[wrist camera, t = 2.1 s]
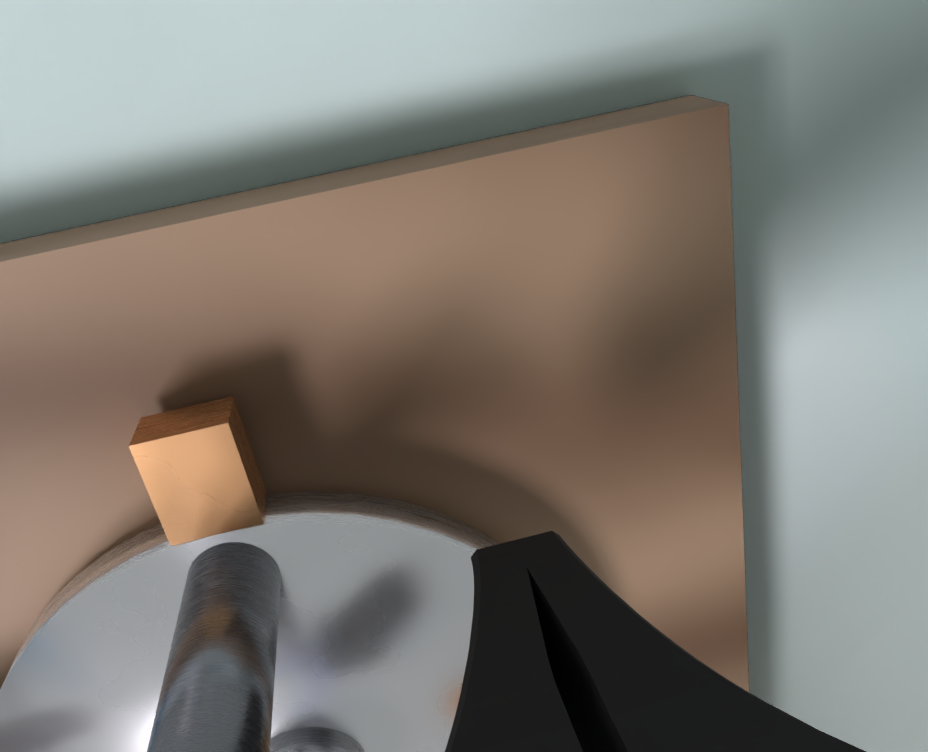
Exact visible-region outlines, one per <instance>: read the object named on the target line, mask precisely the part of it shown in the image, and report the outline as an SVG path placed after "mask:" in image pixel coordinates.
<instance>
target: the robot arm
mask: <svg viewBox="0 0 928 752" xmlns="http://www.w3.org/2000/svg"><path fill="white" fill-rule="evenodd" d="M471 561H472V566H473V575H474V605H473V618H472V627H471V635H470V644H469V651H468V657H467V662H466V668H465V673H464V678H463V683H462V688H461V693H460V698H459V702H458V706H457V710H456V714H455V718H454V722H453V726H452V729H451V733H450V736H449V739H448V743H447V746H446V750H445V752H866V751H863V750H861V749H859V748H857V747H854V746H852V745H850V744H848V743H846V742H843V741H841V740H839V739H837V738H835V737H832V736H830V735H828V734H826V733H824V732H821V731H819V730H817V729H815V728H814V727H812V726H810V725H808V724H806V723H804V722H802V721H800V720H798V719H796V718H795V717H793V716H791V715H789V714H787V713H785V712H783V711H781V710H779V709H778V708H776V707H774V706H772V705H770V704H768V703H766V702H764V701H763V700H761V699H759V698H757V697H756V696H754V695H752V694H751V693H749V692H748V691H746V690H744V689H743V688H741V687H739V686H738V685H736V684H734V683H733V682H731V681H729V680H728V679H726V678H725V677H723V676H722V675H720V674H719V673H717V672H716V671H714V670H713V669H711V668H710V667H708V666H707V665H705V664H704V663H702V662H701V661H699V660H698V659H696V658H695V657H694V656H692V655H691V654H689V653H688V652H687V651H685V650H684V649H683V648H681V647H680V646H679V645H677V644H676V643H675V642H673V641H672V640H671V639H669V638H668V637H667V636H666V635H664V634H663V633H662V632H660V631H659V630H658V629H657V628H655V627H654V626H653V625H652V624H650V623H649V622H648V621H647V620H646V619H644V618H643V617H642V616H641V615H640V614H638V613H637V612H636V611H635V610H634V609H633V608H632V607H630V606H629V605H628V604H627V603H626V602H625V601H624V600H623V599H621V598H620V597H619V596H618V595H617V594H616V593H615V592H613V591H612V590H611V589H610V588H609V587H608V586H607V585H606V584H605V583H604V582H603V581H602V580H601V579H600V578H599V577H598V576H597V575H596V574H595V573H594V572H593V571H592V570H591V569H590V568H589V567H588V566H587V565H586V564H585V563H584V562H583V561H582V560H581V559H580V558H579V557H578V556H577V555H576V554H575V553H574V551H573V550H572V549H571V548H570V547H569V546H568V545H567V544H566V542H565V541H564V540H563V539H562V538H561V536H560V535H558V534H557V533H555V532H553V531H549V532H545V533H541V534H537V535H533V536H529V537H525V538H521V539H517V540H513V541H509V542H505V543H501V544H497V545H493V546H489V547H485V548H481V549H477V550H476V551H475V552H474V553H473V555H472V556H471Z"/></svg>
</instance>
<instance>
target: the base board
mask: <svg viewBox="0 0 928 752" xmlns="http://www.w3.org/2000/svg"><path fill="white" fill-rule="evenodd" d="M232 396H234V398H235V401H236V404H237V407H238V409H239V412H240V415H241V418H242V421H243V424H244V427H245V430H246V433H247V436H248V439H249V441H250V444H251V447H252V450H253V453H254V456H255V459H256V462H257V465H258V468H259V471H260V474H261V476H262V479H263V482H264V485H265V488H266V491H267V494H277V493H291V492H305V491H321V492H347V493H358V494H365V495H371V496H378V497H385V498H391V499H396V500H400V501H403V502H407V503H411V504H414V505H418V506H422V507H425V508H429V509H433V510H435V511H437V512H440V513H442V514H445V515H447V516H449V517H452V518H454V519H457V520H459V521H462V522H464V523H466V524H468V525H470V526H472V527H474V528H475V529H477V530H479V531H480V532H482V533H484V534H486V535H487V536H489V537H491V538H493V539H494V540H496V541H498V542H499V543H500V544H501V543H505V542H509V541H513V540H517V539H521V538H525V537H529V536H533V535H537V534H541V533H545V532H549V531H553V532H555V533H557V534H558V535H560V536H561V538H562V539H563V540H564V541H565V542H566V544H567V545H568V546H569V547H570V548H571V549H572V550H573V551H574V553H575V554H576V555H577V556H578V557H579V558H580V559H581V560H582V561H583V562H584V563H585V564H586V565H587V566H588V567H589V568H590V569H591V570H592V571H593V572H594V573H595V574H596V575H597V576H598V577H599V578H600V579H601V580H602V581H603V582H604V583H605V584H606V585H607V586H608V587H609V588H610V589H611V590H612V591H613V592H615V593H616V594H617V595H618V596H619V597H620V598H621V599H623V600H624V601H625V602H626V603H627V604H628V605H629V606H630V607H632V608H633V609H634V610H635V611H636V612H637V613H638V614H640V615H641V616H642V617H643V618H644V619H646V620H647V621H648V622H649V623H650V624H652V625H653V626H654V627H655V628H657V629H658V630H659V631H660V632H662V633H663V634H664V635H666V636H667V637H668V638H669V639H671V640H672V641H673V642H675V643H676V644H677V645H679V646H680V647H681V648H683V649H684V650H685V651H687V652H688V653H689V654H691V655H692V656H694V657H695V658H696V659H698V660H699V661H701V662H702V663H704V664H705V665H707V666H708V667H710V668H711V669H713V670H714V671H716V672H717V673H719V674H720V675H722V676H723V677H725V678H726V679H728V680H729V681H731V682H733V683H734V684H736V685H738V686H739V687H741V688H743V689H744V690H746V691H748V692H749V673H748V645H747V617H746V589H745V561H744V533H743V505H742V476H741V448H740V420H739V392H738V364H737V336H736V308H735V280H734V251H733V223H732V195H731V167H730V139H729V111H728V104H726V103H722V102H718V101H713V100H709V99H705V98H701V97H697V96H693V95H689V96H685V97H680V98H675V99H671V100H666V101H661V102H657V103H652V104H648V105H643V106H638V107H634V108H629V109H624V110H620V111H615V112H610V113H606V114H601V115H596V116H592V117H587V118H582V119H578V120H573V121H569V122H564V123H559V124H555V125H550V126H545V127H541V128H536V129H531V130H527V131H522V132H517V133H513V134H508V135H504V136H499V137H494V138H490V139H485V140H480V141H476V142H471V143H466V144H462V145H457V146H452V147H448V148H443V149H438V150H434V151H429V152H425V153H420V154H415V155H411V156H406V157H401V158H397V159H392V160H387V161H383V162H378V163H373V164H369V165H364V166H360V167H355V168H350V169H346V170H341V171H336V172H332V173H327V174H322V175H318V176H313V177H308V178H304V179H299V180H294V181H290V182H285V183H281V184H276V185H271V186H267V187H262V188H257V189H253V190H248V191H243V192H239V193H234V194H229V195H225V196H220V197H216V198H211V199H206V200H202V201H197V202H192V203H188V204H183V205H178V206H174V207H169V208H164V209H160V210H155V211H150V212H146V213H141V214H137V215H132V216H127V217H123V218H118V219H113V220H109V221H104V222H99V223H95V224H90V225H85V226H81V227H76V228H72V229H67V230H62V231H58V232H53V233H48V234H44V235H39V236H34V237H30V238H25V239H20V240H16V241H11V242H6V243H2V244H0V689H1V687H2V685H3V683H4V680H5V678H6V676H7V674H8V672H9V670H10V668H11V665H12V663H13V661H14V659H15V657H16V655H17V653H18V651H19V649H20V647H21V645H22V643H23V641H24V639H25V637H26V635H27V633H28V631H29V630H30V629H31V627H32V626H33V624H34V623H35V622H36V620H37V619H38V617H39V616H40V615H41V613H42V612H43V610H44V609H45V608H46V606H47V605H48V604H49V603H50V602H51V601H52V600H53V599H54V597H55V596H56V595H57V594H58V593H59V592H60V591H61V590H62V589H63V588H64V587H65V586H66V585H67V584H68V583H69V582H70V581H71V580H72V579H73V578H74V577H75V576H77V575H78V574H79V573H80V572H82V571H83V570H84V569H86V568H87V567H88V566H89V565H91V564H92V563H93V562H95V561H96V560H97V559H99V558H100V557H101V556H102V555H104V554H105V553H106V552H108V551H110V550H112V549H113V548H115V547H117V546H118V545H120V544H122V543H124V542H125V541H127V540H129V539H130V538H132V537H134V536H136V535H137V534H139V533H141V532H143V531H145V530H147V529H150V528H152V527H154V526H157V525H159V524H161V522H160V520H159V517H158V515H157V513H156V510H155V508H154V506H153V503H152V501H151V498H150V496H149V494H148V491H147V489H146V487H145V484H144V482H143V479H142V477H141V475H140V472H139V470H138V468H137V465H136V463H135V460H134V458H133V456H132V453H131V451H130V448H129V444H130V442H131V439H132V437H133V435H134V432H135V430H136V428H137V425H138V423H139V421H140V418H141V417H146V416H150V415H154V414H159V413H163V412H167V411H171V410H176V409H180V408H184V407H189V406H193V405H197V404H202V403H206V402H210V401H214V400H219V399H223V398H227V397H232Z"/></svg>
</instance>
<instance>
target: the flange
mask: <svg viewBox="0 0 928 752" xmlns="http://www.w3.org/2000/svg"><path fill="white" fill-rule="evenodd" d="M129 448H130V451H131V453H132V456H133V458H134V460H135V463H136V465H137V468H138V470H139V472H140V475H141V477H142V479H143V482H144V484H145V487H146V489H147V491H148V494H149V496H150V498H151V501H152V503H153V506H154V508H155V510H156V513H157V515H158V517H159V520H160V522H161V524H159V525H157V526H154V527H152V528H150V529H147V530H145V531H143V532H141V533H139V534H137V535H136V536H134V537H132V538H130V539H129V540H127V541H125V542H124V543H122V544H120V545H118V546H117V547H115V548H113V549H112V550H110V551H108V552H106V553H105V554H104V555H102V556H101V557H100V558H99V559H97V560H96V561H95V562H93V563H92V564H91V565H89V566H88V567H87V568H86V569H84V570H83V571H82V572H80V573H79V574H78V575H77V576H75V577H74V578H73V579H72V580H71V581H70V582H69V583H68V584H67V585H66V586H65V587H64V588H63V589H62V590H61V591H60V592H59V593H58V594H57V595H56V596H55V597H54V599H53V600H52V601H51V602H50V603H49V604H48V605H47V606H46V608H45V609H44V610H43V612H42V613H41V615H40V616H39V617H38V619H37V620H36V622H35V623H34V624H33V626H32V627H31V629H30V630H29V631H28V633H27V635H26V637H25V639H24V641H23V643H22V645H21V647H20V649H19V651H18V653H17V655H16V657H15V659H14V661H13V663H12V665H11V668H10V670H9V672H8V674H7V676H6V678H5V680H4V683H3V685H2V687H1V689H0V752H445V750H446V746H447V743H448V739H449V736H450V733H451V729H452V726H453V722H454V718H455V714H456V710H457V706H458V702H459V698H460V693H461V688H462V683H463V678H464V673H465V668H466V662H467V657H468V651H469V644H470V635H471V627H472V618H473V605H474V575H473V566H472V561H471V556H472V555H473V553H474V552H475V551H476V550H477V549H481V548H485V547H489V546H493V545H497V544H500V543H499V542H498V541H496V540H494V539H493V538H491V537H489V536H487V535H486V534H484V533H482V532H480V531H479V530H477V529H475V528H474V527H472V526H470V525H468V524H466V523H464V522H462V521H459V520H457V519H454V518H452V517H449V516H447V515H445V514H442V513H440V512H437V511H435V510H433V509H429V508H425V507H422V506H418V505H414V504H411V503H407V502H403V501H400V500H396V499H391V498H385V497H378V496H371V495H365V494H358V493H347V492H321V491H305V492H291V493H277V494H267V491H266V488H265V485H264V482H263V479H262V476H261V474H260V471H259V468H258V465H257V462H256V459H255V456H254V453H253V450H252V447H251V444H250V441H249V439H248V436H247V433H246V430H245V427H244V424H243V421H242V418H241V415H240V412H239V409H238V407H237V404H236V401H235V398H234V396H232V397H227V398H223V399H219V400H214V401H210V402H206V403H202V404H197V405H193V406H189V407H184V408H180V409H176V410H171V411H167V412H163V413H159V414H154V415H150V416H146V417H141V418H140V421H139V423H138V425H137V428H136V430H135V432H134V435H133V437H132V439H131V442H130V444H129Z"/></svg>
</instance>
